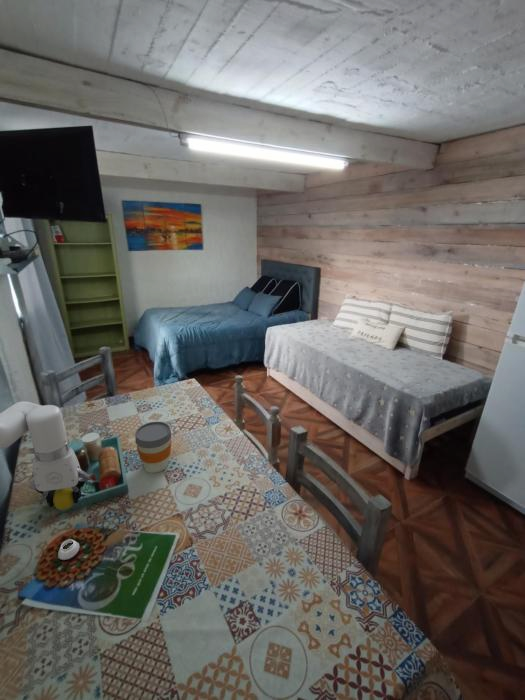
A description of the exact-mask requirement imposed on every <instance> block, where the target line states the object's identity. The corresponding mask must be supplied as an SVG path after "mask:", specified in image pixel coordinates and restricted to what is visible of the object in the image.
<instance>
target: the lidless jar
mask: <svg viewBox="0 0 525 700" xmlns="http://www.w3.org/2000/svg"><path fill="white" fill-rule="evenodd" d="M72 542H73V544H72V545H71V546H70V547H69V548H67V549H63V547H64V546H65V545H67V544H68V543H72ZM80 548H81V547H80V543H79V542H77V541H76V540H74V539H72V538H69V539H66V540H63V542H62V543H61V545H60V547H59V549H58V552H57V556H58V558H59V559H60V560H62V561H65V560H70V559H72V558H73V557H75V556H76V555H77V554H78V552H79V551H80Z"/></svg>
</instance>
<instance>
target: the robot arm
mask: <svg viewBox="0 0 525 700" xmlns="http://www.w3.org/2000/svg"><path fill="white" fill-rule="evenodd" d="M63 417H64V416H63V412H62V410H61V408H60V407H59V406H57V405H53V404H44V405H42V404H38V403H34V402H30V401H26V400H25V401H24V400H23V401H22V400H21V401H17V402H15V403H13V404H12V405H10V406H9V407H8V408H5V410H3V411H2V412H0V451H1V450H4V449H6V448H9V447H10V446H11V445H13V444H14V443H16V442H17V440H19V439H21V437H22V436H24V435H25V434H26V433H28V432H29V436H30V439H31V443H32V448H29V449H28V454H33V455H34V457H33V458H32V459H33V460H32V470H33V471H32V473H33V474H32V475H33V479H32V480H31V482H30V483H29V484H28V489H31V490H33V491H35V492H37V493H39V494H41V495H42V497H43V498H45V501H46V503H47V504H48V506H49V508H53V507H54V503H53V495H54V493H55V491H56V490H57V489H64V488H70V487H71V488H72V490H73V492H72V495H73V500H74V504H78V503H79V500H80V499H81V498H82V490H81V488H82V487H83V486H84V485H85V484H86V483H87V482H89V480H90V478H91V474H89V472H86V471H84V470H83V469H82V468H81V466H80V462H79V460H78V457H77V455H76V453H75V451H74V449H73V448H72V447H70V444H69V440H68V435H67V431H66V427H65V426H66V425H65V422H64V418H63ZM79 478H81V479H79Z"/></svg>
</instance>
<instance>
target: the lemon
mask: <svg viewBox="0 0 525 700" xmlns="http://www.w3.org/2000/svg"><path fill="white" fill-rule="evenodd" d="M54 491H55V493H54V495H53V503H54V505H53V507H55V508H56V509H57V510H59V511H66V510H69V509H71V508H72V507H73V506H74V504H75V503H74V500H73V495H72V492H73V490H72V488H71V487H70V488H64V489H57V490H54Z"/></svg>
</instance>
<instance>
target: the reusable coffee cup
mask: <svg viewBox="0 0 525 700" xmlns="http://www.w3.org/2000/svg"><path fill="white" fill-rule="evenodd" d="M134 434H135V437H134V438H135V440H134V441H135V444H136V449H137V453H138V456H139V459H140V460H141V462H142V465H143V469H144V470H145V471H146V472H147V473H152V474H153V473H154V474H155V473H159V472H163V471H164V470H165V469H167V468H168V466H169V464H170V455H171V451H172V436H173V435H172V434H173V433H172V430H171V426H170V425H169V423H166V422H165V421H149V422H147V423H146V422H145V423H144V424H142V425H140V426H139V427H137V429H136V431H135V433H134Z"/></svg>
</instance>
